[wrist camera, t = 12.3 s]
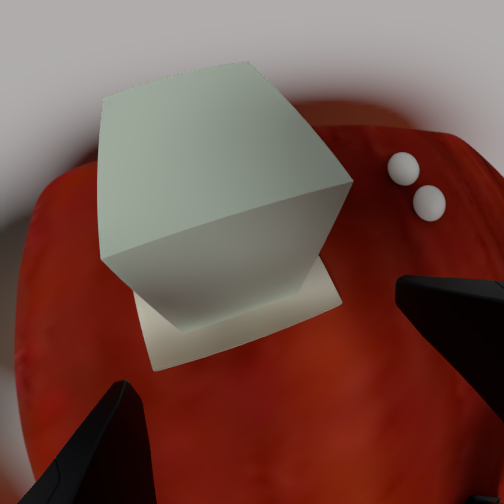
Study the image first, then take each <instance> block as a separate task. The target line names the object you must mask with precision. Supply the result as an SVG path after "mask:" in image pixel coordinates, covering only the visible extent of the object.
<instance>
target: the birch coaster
mask: <svg viewBox="0 0 504 504" xmlns="http://www.w3.org/2000/svg"><path fill="white" fill-rule="evenodd" d="M133 292H134V291H133ZM134 297H135V302H136V306H137V311H138V315H139V319H140V324H141V328H142V332H143V336H144V339H145V343H146V347H147V351H148V354H149V358H150V361H151V365H152V368H153V371H160V370H163V369H167V368H170V367H174V366H177V365H181V364H184V363H187V362H191V361H194V360H197V359H200V358H204V357H207V356H210V355H213V354H216V353H219V352H222V351H225V350H228V349H231V348H234V347H237V346H240V345H242V344H245V343H248V342H251V341H253V340H256V339H259V338H262V337H264V336H267V335H270V334H272V333H275V332H277V331H280V330H282V329H285V328H288V327H290V326H292V325H295V324H297V323H300V322H302V321H305V320H307V319H309V318H312V317H314V316H316V315H319V314H321V313H323V312H326V311H328V310H330V309H332V308H335V307H337V306H339V305H340V304H342V301H341V299H340V296H339V294H338V292H337V290H336V288H335V286H334V284H333V282H332V280H331V278H330V276H329V274H328V272H327V270H326V268H325V266H324V264H323V263H322V261H321V259H320V257H319V255H318V256H317V258H316V260H315V262H314V264H313V266H312V268H311V270H310V272H309V274H308V275H307V277H306V279H305V281H304V283H303V285H302V287H301V289H300V290H299V292H298V293H297V294H294V295H292V296H289V297H287V298H284V299H281V300H279V301H276V302H273V303H271V304H268V305H265V306H263V307H260V308H257V309H254V310H252V311H249V312H246V313H243V314H240V315H238V316H235V317H232V318H229V319H226V320H223V321H220V322H217V323H214V324H211V325H208V326H205V327H202V328H199V329H196V330H193V331H190V332H187V333H184V334H183V333H182V332H181V331H180V330H178V329H177V328H176V327H175V326H174V325H172V324H171V323H170V322H169V321H168V320H166V319H165V318H164V317H163V316H162V315H160V314H159V313H158V312H157V311H156V310H155V309H153V308H152V307H151V306H150V305H149V304H148V303H147V302H145V301H144V300H143V299H142V298H141V297H140V296H139V295H138V294H137V293H135V292H134Z"/></svg>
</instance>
